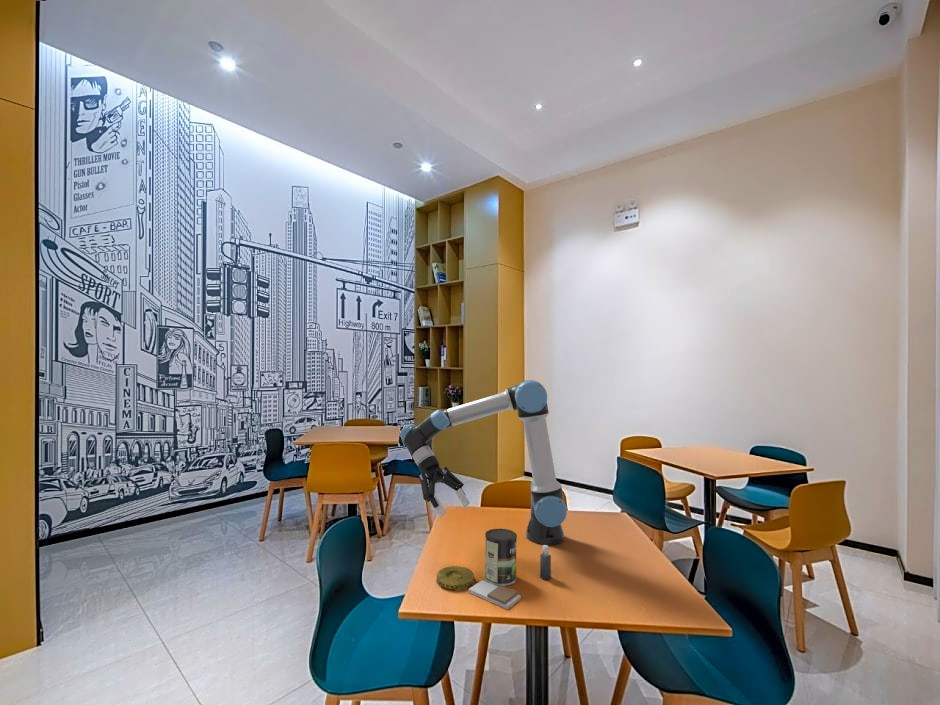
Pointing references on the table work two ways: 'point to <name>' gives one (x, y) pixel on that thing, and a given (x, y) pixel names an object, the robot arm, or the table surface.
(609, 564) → the table surface
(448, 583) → the olive gold disc
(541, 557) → the grey white-capped bottle
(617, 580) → the table surface
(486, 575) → the coffee can
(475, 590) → the white and brown box
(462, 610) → the table surface
